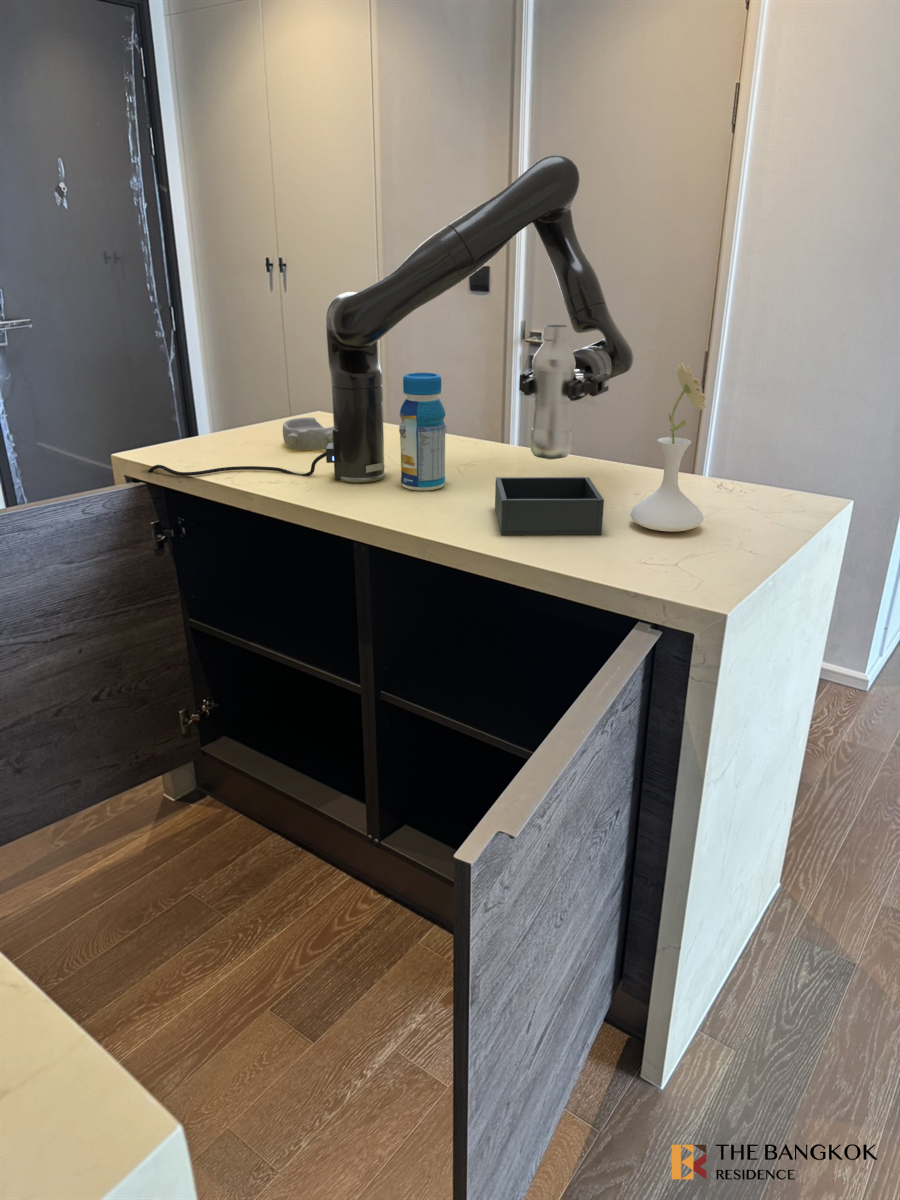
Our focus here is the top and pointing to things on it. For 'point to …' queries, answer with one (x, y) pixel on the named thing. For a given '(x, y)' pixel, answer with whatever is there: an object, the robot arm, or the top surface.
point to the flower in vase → (672, 474)
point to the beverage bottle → (422, 433)
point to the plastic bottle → (552, 395)
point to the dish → (306, 434)
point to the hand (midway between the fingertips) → (548, 389)
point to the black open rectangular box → (548, 506)
